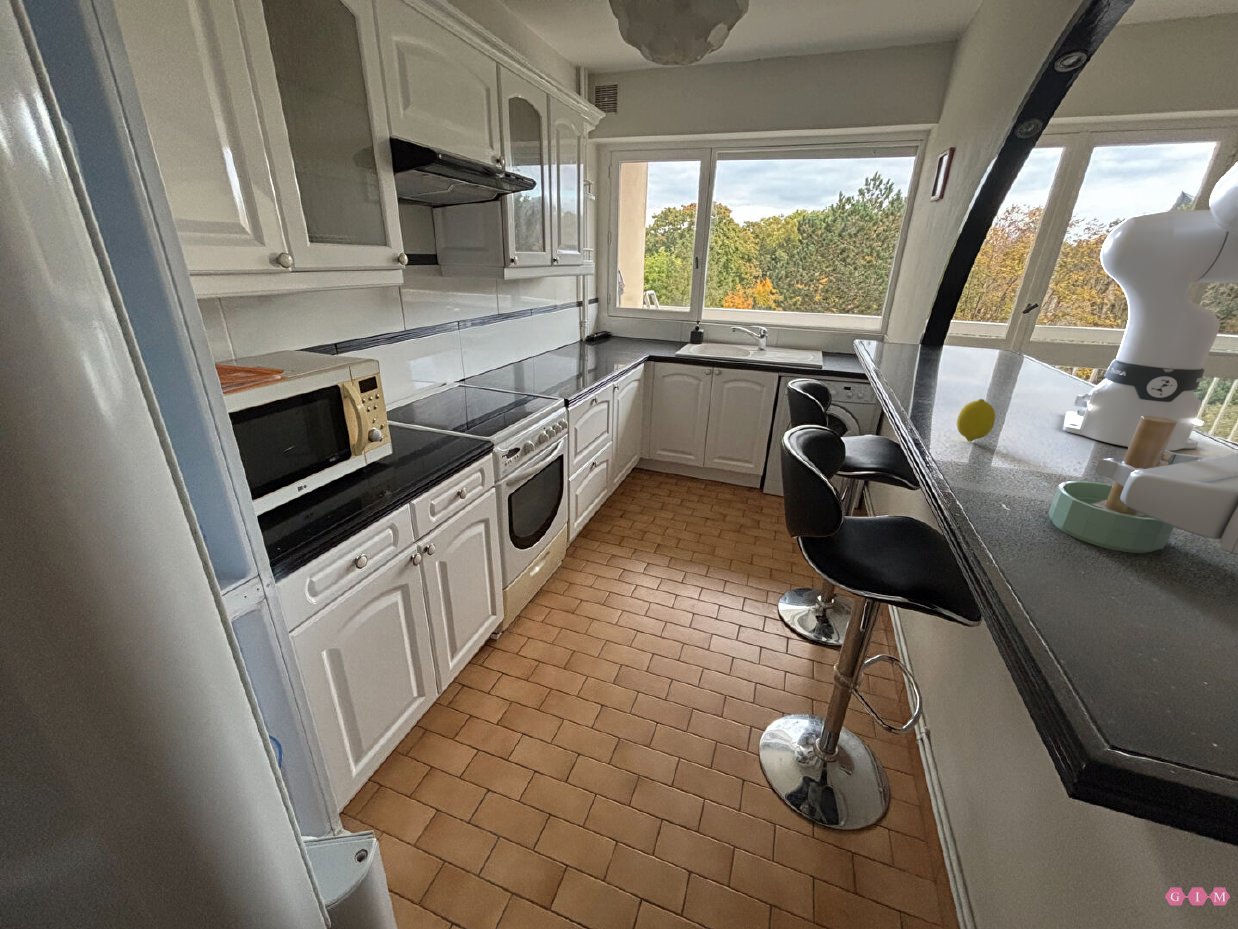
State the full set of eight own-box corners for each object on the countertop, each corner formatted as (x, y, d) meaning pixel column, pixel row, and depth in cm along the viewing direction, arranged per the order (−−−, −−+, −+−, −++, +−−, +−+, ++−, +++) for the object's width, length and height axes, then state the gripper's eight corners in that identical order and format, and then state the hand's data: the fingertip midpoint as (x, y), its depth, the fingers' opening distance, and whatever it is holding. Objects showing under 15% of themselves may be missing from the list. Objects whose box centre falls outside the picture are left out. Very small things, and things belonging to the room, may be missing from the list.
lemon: (993, 447, 90) (1006, 404, 87) (959, 445, 91) (971, 401, 88) (979, 437, 95) (991, 396, 92) (947, 435, 96) (958, 394, 93)
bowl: (1040, 505, 68) (1051, 474, 67) (1145, 525, 64) (1160, 492, 62) (1056, 539, 60) (1069, 505, 58) (1178, 565, 55) (1197, 529, 53)
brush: (1101, 520, 63) (1146, 412, 58) (1141, 535, 60) (1193, 422, 55) (1081, 525, 62) (1126, 415, 57) (1121, 541, 58) (1173, 426, 53)
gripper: (1383, 469, 48) (1193, 427, 61) (1265, 495, 42) (1079, 442, 54) (1346, 527, 51) (1170, 475, 63) (1230, 560, 45) (1059, 495, 57)
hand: (1127, 460), depth 59 cm, fingers open, 8 cm apart
